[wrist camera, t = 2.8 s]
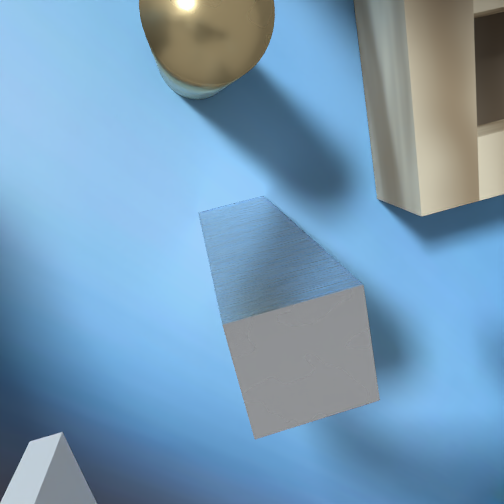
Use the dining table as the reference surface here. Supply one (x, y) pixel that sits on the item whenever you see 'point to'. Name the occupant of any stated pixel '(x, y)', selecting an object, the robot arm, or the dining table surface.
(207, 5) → the round bit
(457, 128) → the socket block
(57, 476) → the robot arm
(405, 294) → the dining table surface
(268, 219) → the square bit
